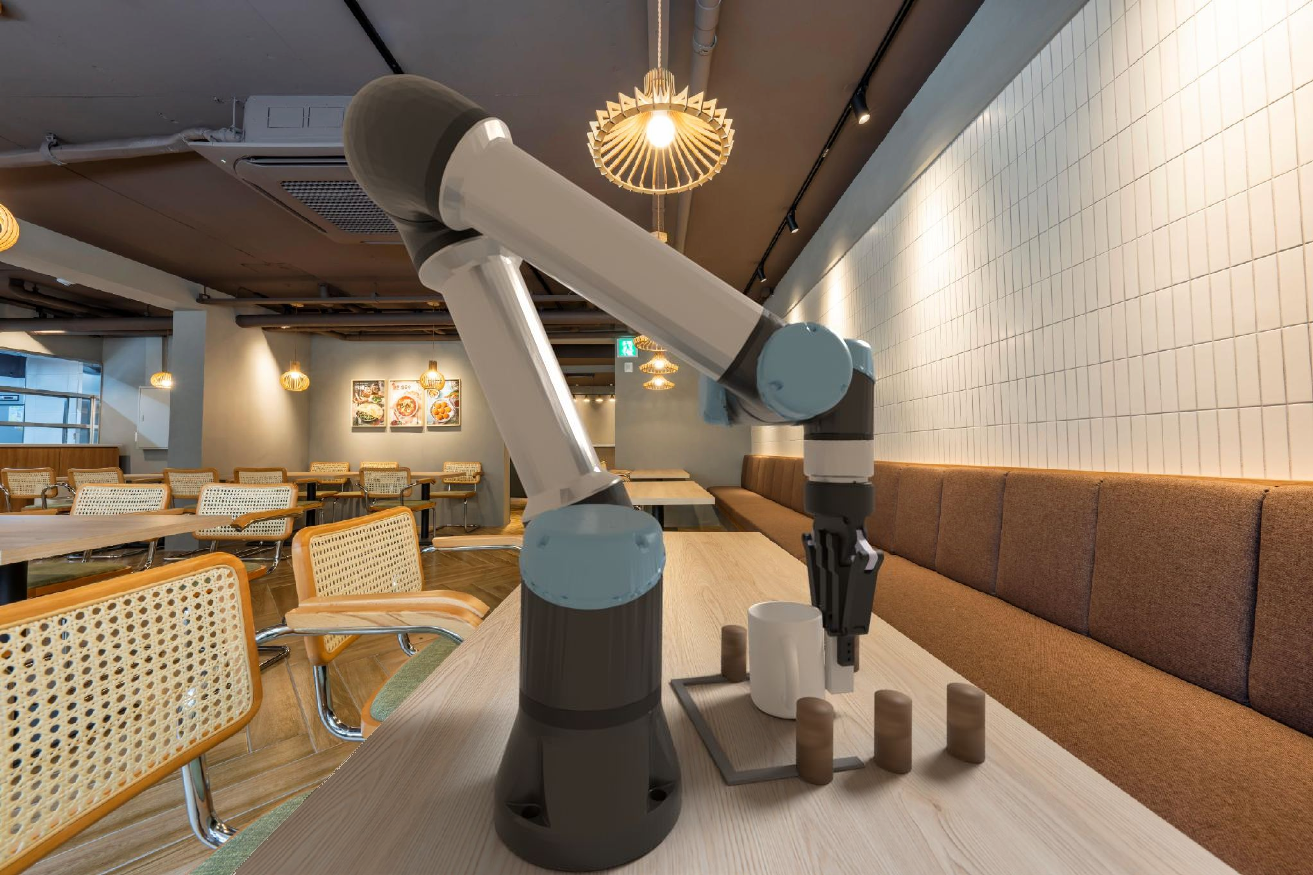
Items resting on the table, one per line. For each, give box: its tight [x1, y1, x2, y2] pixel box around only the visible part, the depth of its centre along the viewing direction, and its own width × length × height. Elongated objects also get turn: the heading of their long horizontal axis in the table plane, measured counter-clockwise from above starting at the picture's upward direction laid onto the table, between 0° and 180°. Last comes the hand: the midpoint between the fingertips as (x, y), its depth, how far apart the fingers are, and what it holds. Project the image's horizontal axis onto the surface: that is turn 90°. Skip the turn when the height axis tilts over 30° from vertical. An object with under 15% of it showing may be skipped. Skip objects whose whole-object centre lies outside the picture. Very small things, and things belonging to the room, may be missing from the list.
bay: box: [670, 672, 866, 786], centre depth 56 cm, size 13×20×1 cm, turn 13°
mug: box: [747, 600, 826, 720], centre depth 58 cm, size 12×8×10 cm
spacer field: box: [720, 624, 986, 786], centre depth 58 cm, size 19×23×6 cm
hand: (839, 690), depth 58 cm, fingers closed
